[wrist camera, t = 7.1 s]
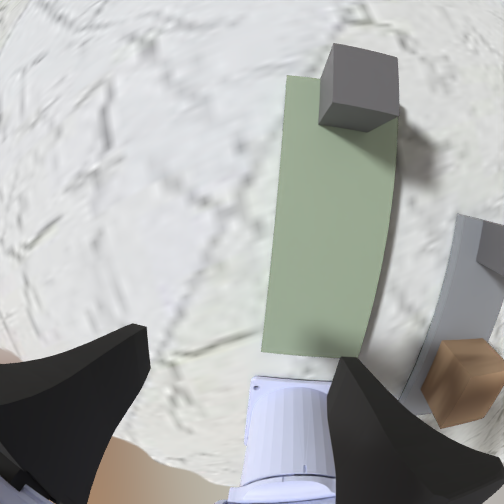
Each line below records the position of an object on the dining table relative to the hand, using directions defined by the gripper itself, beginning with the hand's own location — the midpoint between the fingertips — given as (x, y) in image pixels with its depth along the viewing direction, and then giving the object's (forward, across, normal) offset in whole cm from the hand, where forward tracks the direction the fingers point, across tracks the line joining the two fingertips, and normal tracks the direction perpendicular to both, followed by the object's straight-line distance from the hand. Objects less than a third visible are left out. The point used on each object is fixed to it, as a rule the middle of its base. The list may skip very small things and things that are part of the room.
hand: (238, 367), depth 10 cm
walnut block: (+8, -17, +5) cm, 20 cm away
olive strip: (+9, -4, -4) cm, 11 cm away
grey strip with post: (+9, -17, +2) cm, 20 cm away
